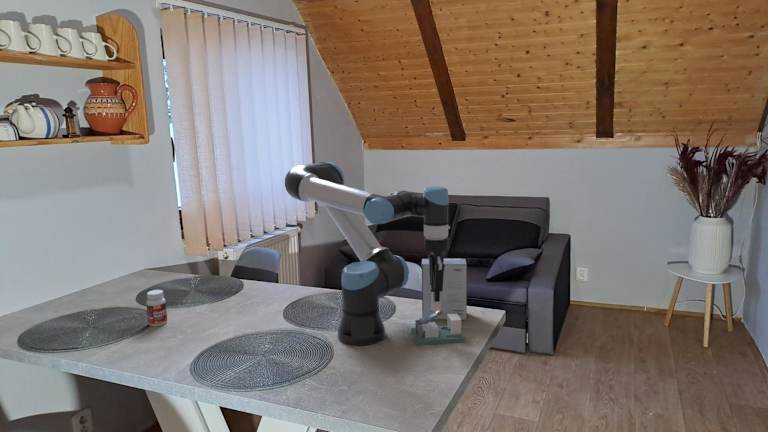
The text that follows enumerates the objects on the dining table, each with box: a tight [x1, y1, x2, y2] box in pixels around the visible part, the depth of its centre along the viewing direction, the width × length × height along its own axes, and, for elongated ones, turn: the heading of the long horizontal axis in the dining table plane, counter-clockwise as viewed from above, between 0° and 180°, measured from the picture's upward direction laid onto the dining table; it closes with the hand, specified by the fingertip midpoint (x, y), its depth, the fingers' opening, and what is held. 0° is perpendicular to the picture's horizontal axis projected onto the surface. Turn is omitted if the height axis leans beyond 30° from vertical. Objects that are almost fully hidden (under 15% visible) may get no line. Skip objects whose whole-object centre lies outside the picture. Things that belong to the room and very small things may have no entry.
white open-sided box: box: [446, 314, 462, 334], centre depth 174 cm, size 3×5×5 cm, turn 6°
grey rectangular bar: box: [416, 311, 443, 327], centre depth 173 cm, size 9×3×1 cm, turn 95°
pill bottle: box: [145, 289, 168, 327], centre depth 188 cm, size 6×6×11 cm
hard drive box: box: [421, 258, 468, 321], centre depth 190 cm, size 16×8×20 cm, turn 84°
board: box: [411, 317, 465, 346], centre depth 174 cm, size 15×11×5 cm
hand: (436, 309), depth 173 cm, fingers closed
